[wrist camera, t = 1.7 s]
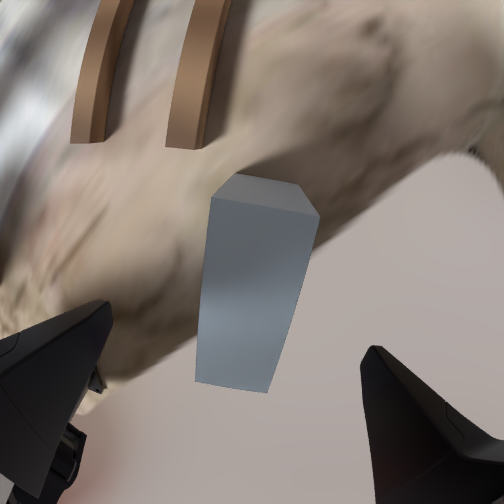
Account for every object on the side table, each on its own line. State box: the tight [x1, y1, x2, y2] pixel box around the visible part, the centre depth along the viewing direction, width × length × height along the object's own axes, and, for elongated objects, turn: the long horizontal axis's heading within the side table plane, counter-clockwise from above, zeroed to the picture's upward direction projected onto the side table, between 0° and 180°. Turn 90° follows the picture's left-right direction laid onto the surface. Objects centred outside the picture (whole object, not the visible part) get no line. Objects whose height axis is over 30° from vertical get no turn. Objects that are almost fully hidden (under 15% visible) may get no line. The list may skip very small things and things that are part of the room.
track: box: [70, 0, 232, 150], centre depth 8 cm, size 13×7×4 cm, turn 170°
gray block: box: [195, 173, 320, 393], centre depth 12 cm, size 8×3×6 cm, turn 171°
